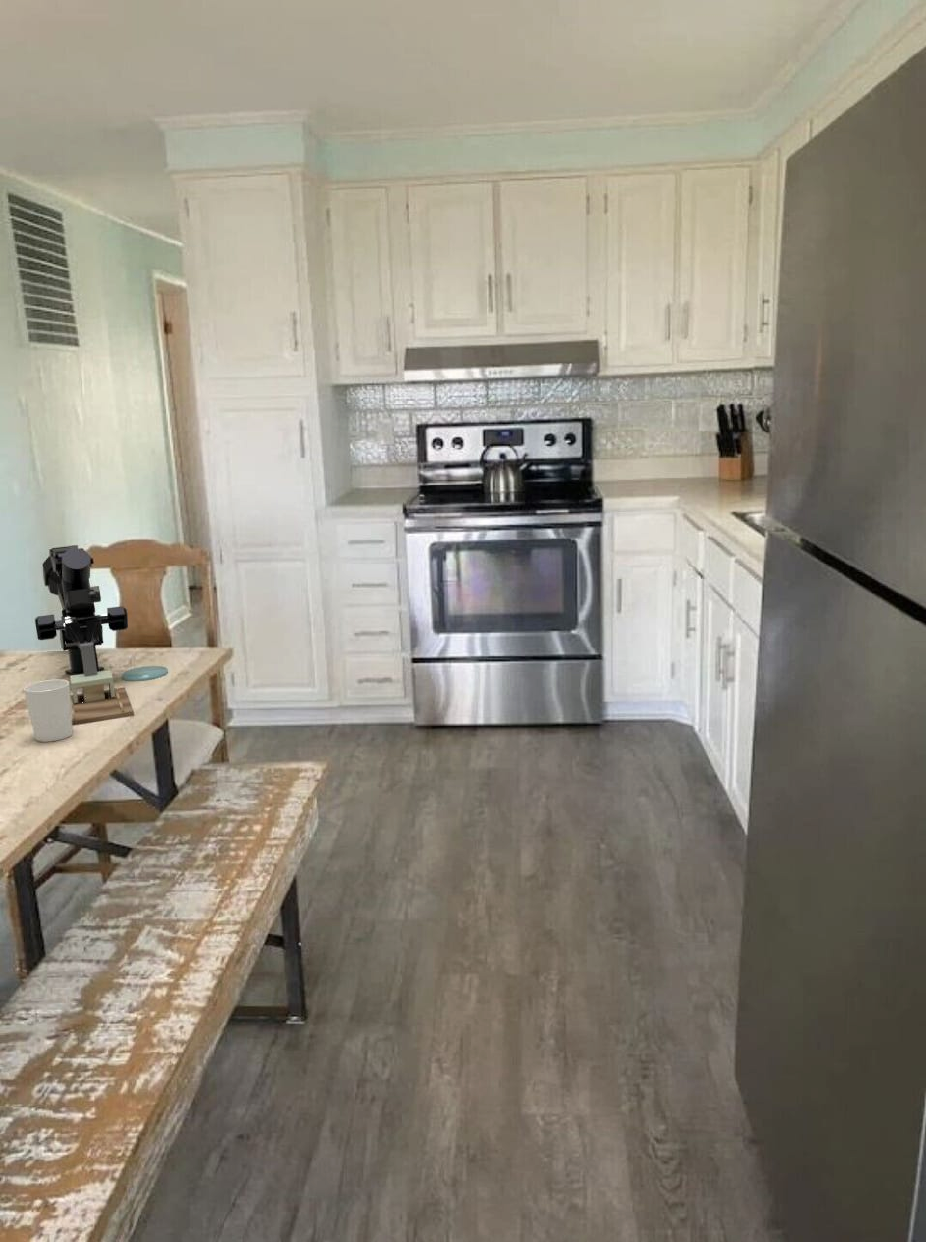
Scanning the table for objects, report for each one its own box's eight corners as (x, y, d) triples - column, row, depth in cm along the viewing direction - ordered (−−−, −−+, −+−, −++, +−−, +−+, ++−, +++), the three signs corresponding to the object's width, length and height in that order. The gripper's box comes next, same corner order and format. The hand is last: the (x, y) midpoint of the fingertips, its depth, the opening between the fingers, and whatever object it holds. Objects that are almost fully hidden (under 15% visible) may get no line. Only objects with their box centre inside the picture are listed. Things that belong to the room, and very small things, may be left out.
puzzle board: (60, 701, 207) (59, 695, 207) (125, 691, 212) (124, 685, 212) (64, 727, 190) (63, 721, 190) (134, 716, 195) (133, 709, 195)
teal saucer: (113, 677, 224) (112, 674, 224) (150, 667, 232) (149, 663, 231) (140, 683, 218) (139, 680, 218) (177, 672, 226) (176, 669, 225)
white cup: (60, 743, 181) (53, 691, 179) (22, 742, 183) (14, 691, 181) (84, 729, 189) (77, 679, 186) (48, 728, 190) (40, 678, 188)
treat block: (84, 700, 207) (81, 681, 206) (104, 697, 209) (101, 679, 208) (85, 705, 204) (82, 686, 203) (105, 702, 205) (103, 683, 204)
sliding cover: (72, 694, 207) (65, 645, 205) (112, 688, 210) (106, 640, 208) (74, 703, 201) (67, 652, 199) (115, 696, 204) (108, 647, 202)
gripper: (28, 580, 209) (37, 641, 201) (121, 570, 216) (132, 628, 208) (33, 609, 218) (42, 669, 210) (122, 599, 225) (133, 656, 217)
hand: (87, 655), depth 211 cm, fingers closed
